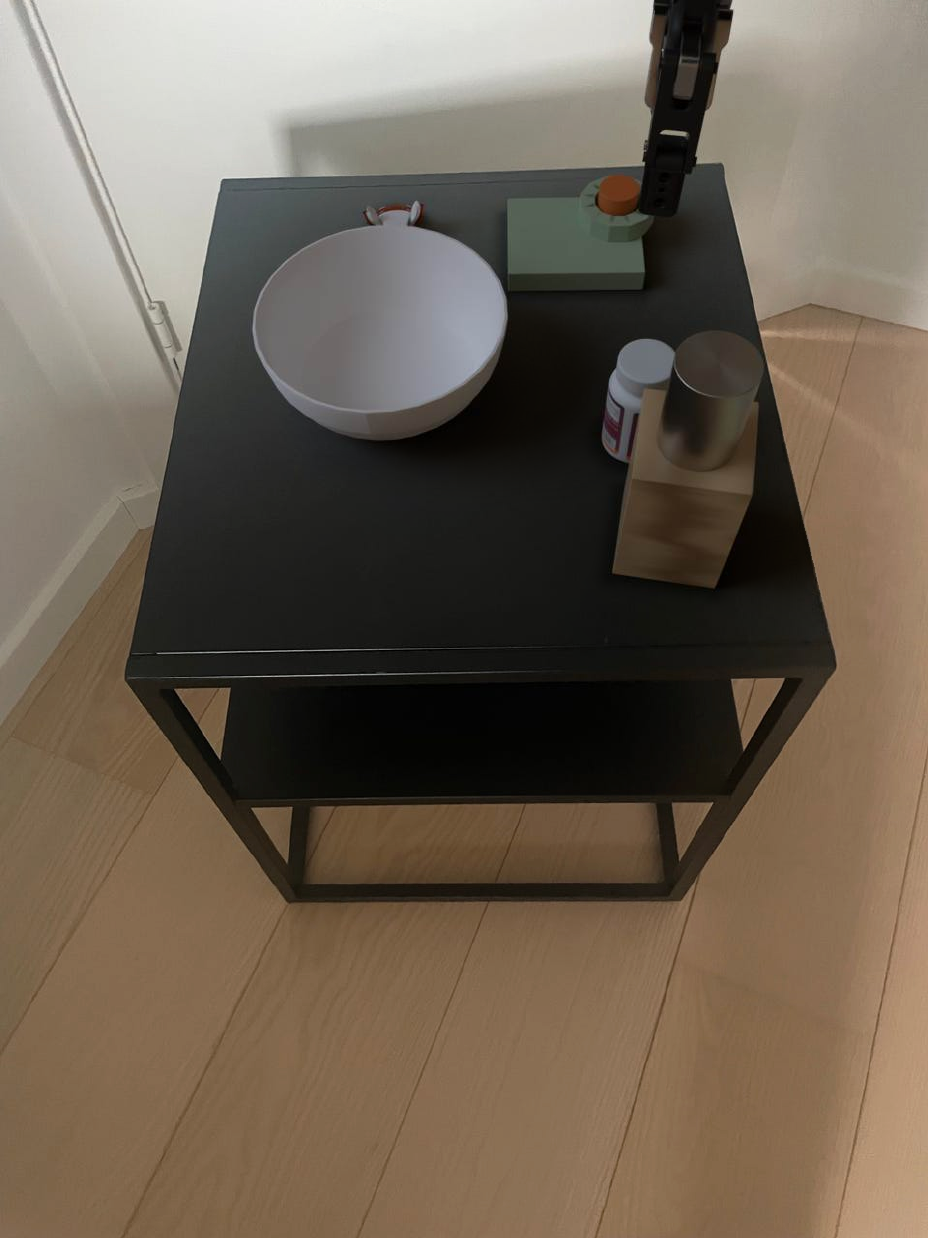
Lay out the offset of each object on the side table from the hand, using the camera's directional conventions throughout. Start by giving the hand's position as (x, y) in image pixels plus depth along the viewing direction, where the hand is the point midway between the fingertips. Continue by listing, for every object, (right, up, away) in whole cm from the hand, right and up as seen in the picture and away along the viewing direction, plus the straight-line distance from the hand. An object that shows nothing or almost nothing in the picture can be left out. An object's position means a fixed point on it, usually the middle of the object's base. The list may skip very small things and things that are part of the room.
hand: (662, 161), depth 56 cm
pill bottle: (+1, -14, +15) cm, 20 cm away
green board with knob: (-3, +4, +24) cm, 25 cm away
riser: (+3, -21, +11) cm, 24 cm away
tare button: (+1, +7, +22) cm, 24 cm away
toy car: (-17, +5, +26) cm, 32 cm away
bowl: (-17, -9, +18) cm, 27 cm away
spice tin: (+2, -16, +1) cm, 16 cm away
